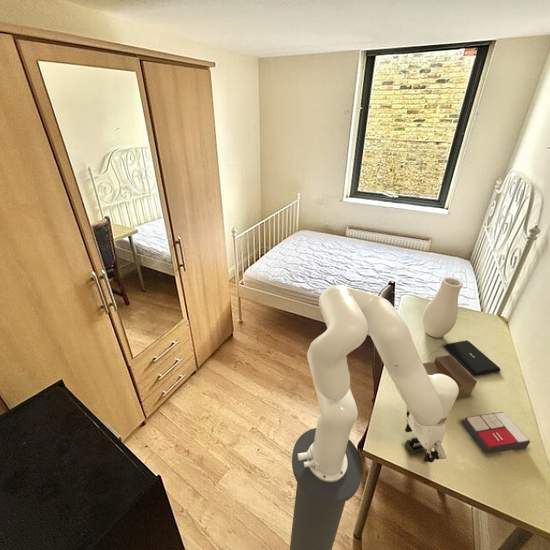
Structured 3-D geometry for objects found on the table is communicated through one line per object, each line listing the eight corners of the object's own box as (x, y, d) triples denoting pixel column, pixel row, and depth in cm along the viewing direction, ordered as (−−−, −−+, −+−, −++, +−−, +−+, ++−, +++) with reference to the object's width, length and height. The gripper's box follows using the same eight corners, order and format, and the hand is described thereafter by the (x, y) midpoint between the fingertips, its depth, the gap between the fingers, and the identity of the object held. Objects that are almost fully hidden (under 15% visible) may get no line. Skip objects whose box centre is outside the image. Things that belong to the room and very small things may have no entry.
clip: (425, 452, 93) (430, 443, 91) (410, 455, 92) (414, 446, 90) (419, 442, 96) (423, 433, 94) (404, 445, 95) (408, 436, 93)
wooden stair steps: (421, 405, 109) (427, 390, 105) (400, 375, 120) (405, 361, 116) (469, 396, 112) (477, 381, 109) (444, 368, 124) (450, 354, 120)
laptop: (467, 377, 121) (469, 373, 120) (440, 343, 138) (441, 340, 137) (503, 375, 122) (505, 372, 121) (472, 342, 139) (473, 339, 138)
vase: (420, 321, 152) (436, 271, 138) (449, 330, 146) (470, 279, 132) (416, 336, 142) (434, 284, 127) (448, 347, 136) (470, 293, 121)
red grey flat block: (464, 416, 101) (504, 410, 102) (461, 423, 103) (499, 417, 104) (489, 447, 91) (532, 440, 93) (484, 455, 93) (526, 448, 95)
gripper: (403, 388, 92) (393, 422, 100) (441, 442, 77) (425, 476, 85) (425, 384, 93) (412, 418, 101) (466, 436, 78) (447, 470, 87)
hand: (418, 444), depth 93 cm, fingers open, 9 cm apart
